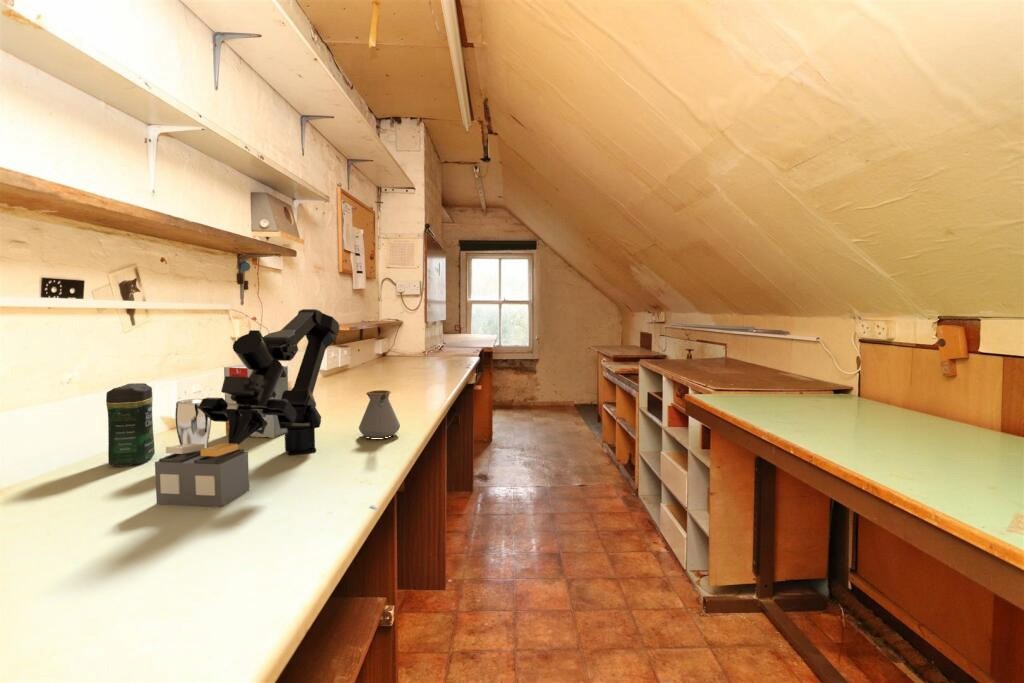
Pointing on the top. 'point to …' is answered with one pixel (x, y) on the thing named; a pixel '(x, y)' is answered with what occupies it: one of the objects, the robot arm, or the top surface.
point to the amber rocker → (219, 449)
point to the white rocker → (184, 448)
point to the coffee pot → (379, 416)
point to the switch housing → (201, 478)
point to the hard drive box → (282, 385)
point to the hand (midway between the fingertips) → (231, 447)
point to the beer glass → (191, 423)
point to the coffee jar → (130, 424)
